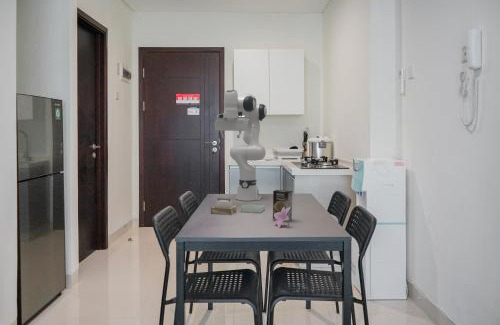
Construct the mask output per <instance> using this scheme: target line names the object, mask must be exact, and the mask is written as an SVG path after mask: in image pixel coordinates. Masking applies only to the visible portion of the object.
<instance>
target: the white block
mask: <svg viewBox="0 0 500 325" xmlns="http://www.w3.org/2000/svg"><path fill="white" fill-rule="evenodd" d="M216 199H217V200H216V201H215V206H216V208H231V207H233V201H232V200H231V198H225V197H217V198H216Z"/></svg>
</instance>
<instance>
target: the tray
mask: <svg viewBox="0 0 500 325" xmlns="http://www.w3.org/2000/svg"><path fill="white" fill-rule="evenodd" d="M265 210H266V205H265V204H263V205H262V204H244V205H242V206H240V213H250V214H251V213H252V214H261V213H263V212H265Z"/></svg>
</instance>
